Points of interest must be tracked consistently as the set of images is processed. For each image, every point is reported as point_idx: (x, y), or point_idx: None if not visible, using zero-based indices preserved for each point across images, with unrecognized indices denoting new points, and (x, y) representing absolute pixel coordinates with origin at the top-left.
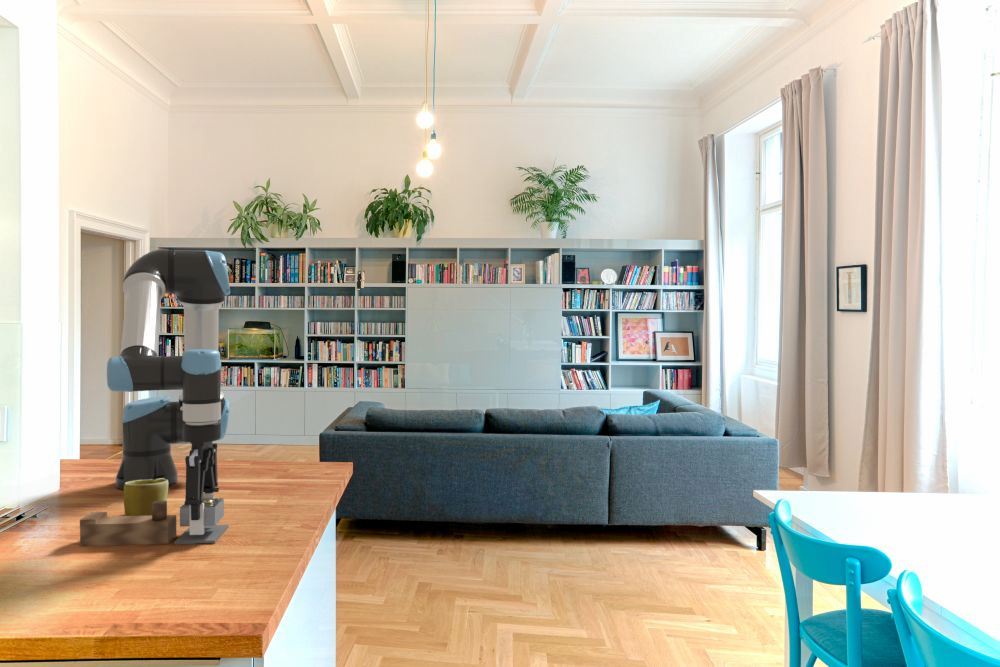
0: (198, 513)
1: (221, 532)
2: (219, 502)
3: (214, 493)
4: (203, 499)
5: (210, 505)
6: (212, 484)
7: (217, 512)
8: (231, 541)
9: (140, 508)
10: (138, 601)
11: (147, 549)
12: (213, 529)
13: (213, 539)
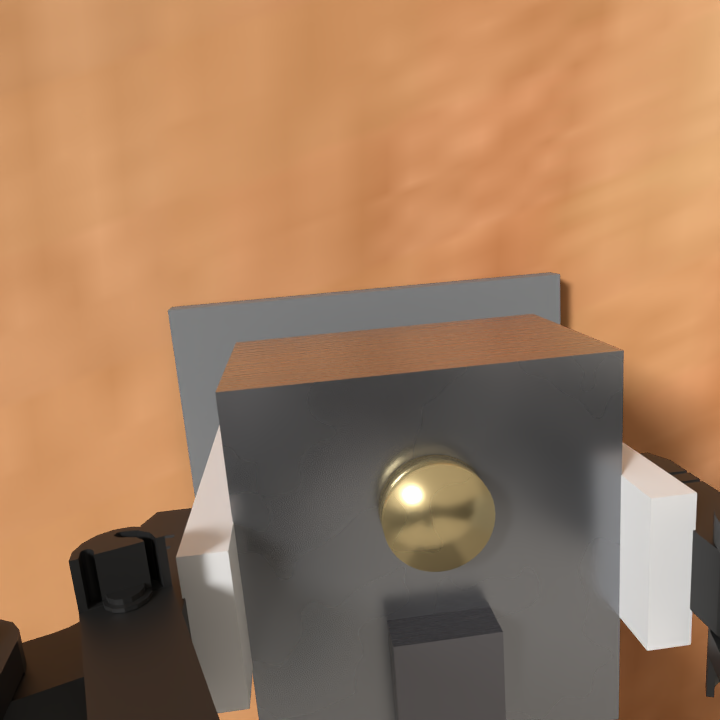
0: (682, 479)
1: (373, 294)
2: (419, 370)
3: (181, 554)
4: (292, 619)
5: (554, 429)
6: (198, 664)
7: (480, 340)
8: (510, 157)
9: None
10: None
11: (625, 661)
12: None
13: (533, 296)
